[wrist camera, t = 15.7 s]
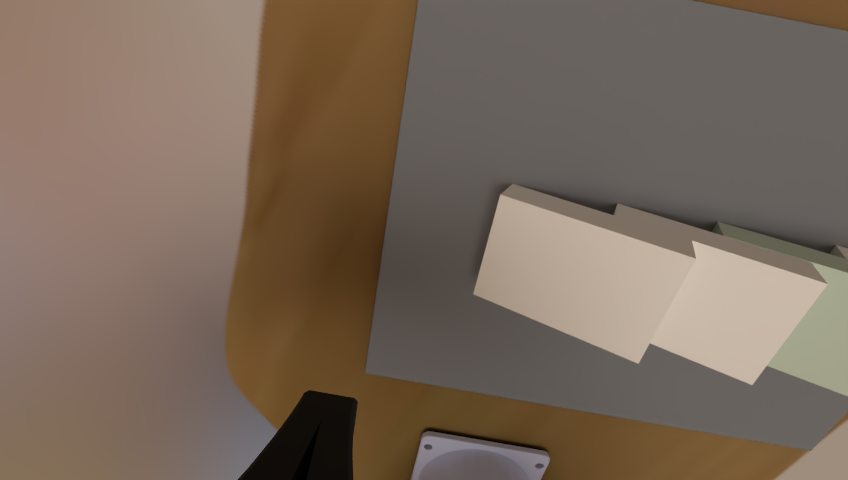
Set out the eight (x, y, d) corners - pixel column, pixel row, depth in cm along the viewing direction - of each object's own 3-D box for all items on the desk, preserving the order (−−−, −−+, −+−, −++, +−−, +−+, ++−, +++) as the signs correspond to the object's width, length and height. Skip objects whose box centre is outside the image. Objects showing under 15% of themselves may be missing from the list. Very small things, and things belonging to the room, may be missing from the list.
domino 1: (512, 183, 18) (691, 240, 15) (486, 277, 20) (639, 338, 18) (500, 194, 16) (696, 258, 14) (473, 294, 18) (638, 363, 16)
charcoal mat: (805, 444, 24) (810, 450, 24) (366, 368, 24) (365, 373, 23) (1131, 88, 15) (1147, 90, 15) (426, -51, 15) (425, -53, 14)
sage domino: (717, 221, 18) (923, 281, 16) (668, 309, 20) (843, 373, 18) (724, 235, 16) (952, 304, 14) (670, 329, 19) (861, 401, 16)
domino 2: (617, 203, 18) (811, 263, 16) (579, 293, 20) (744, 358, 18) (614, 215, 16) (828, 283, 14) (573, 312, 19) (752, 385, 16)
